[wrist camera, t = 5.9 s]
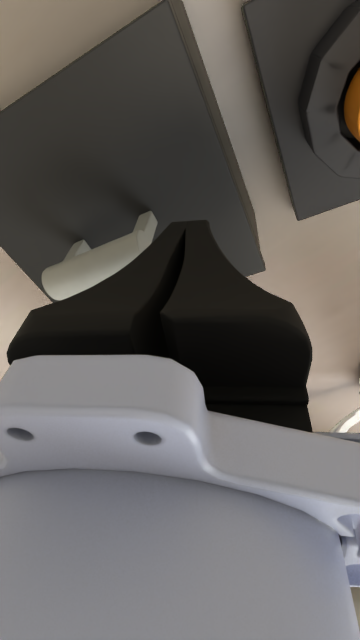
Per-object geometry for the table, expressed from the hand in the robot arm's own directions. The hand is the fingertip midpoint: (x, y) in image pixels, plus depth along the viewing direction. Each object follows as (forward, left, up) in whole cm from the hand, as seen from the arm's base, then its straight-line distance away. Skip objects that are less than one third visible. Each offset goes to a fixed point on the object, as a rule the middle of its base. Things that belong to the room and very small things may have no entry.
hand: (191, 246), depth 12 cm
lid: (+1, +5, -5) cm, 7 cm away
